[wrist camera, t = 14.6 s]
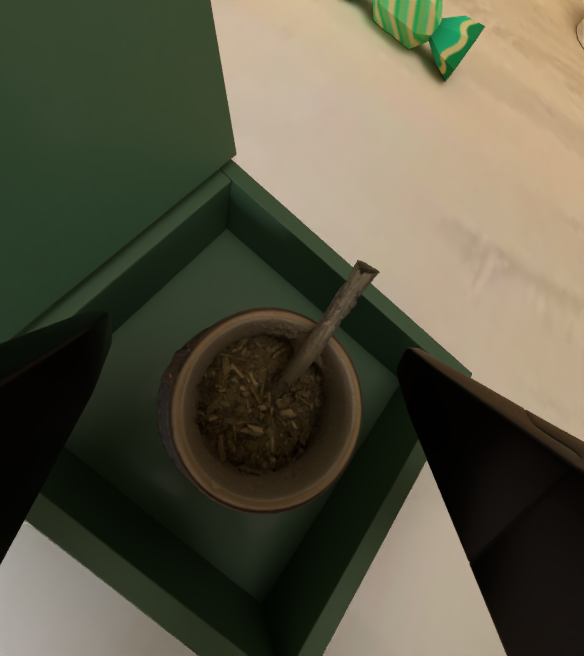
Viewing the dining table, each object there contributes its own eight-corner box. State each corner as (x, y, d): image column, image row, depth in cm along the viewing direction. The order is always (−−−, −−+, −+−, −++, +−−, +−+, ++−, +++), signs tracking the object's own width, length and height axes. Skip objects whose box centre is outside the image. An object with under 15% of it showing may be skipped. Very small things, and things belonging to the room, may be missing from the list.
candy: (468, 48, 27) (493, 15, 23) (440, 87, 28) (460, 62, 24) (356, -44, 26) (363, -95, 22) (331, 0, 27) (334, -42, 23)
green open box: (409, 380, 20) (473, 373, 15) (261, 620, 15) (285, 725, 10) (225, 218, 19) (230, 157, 14) (4, 417, 14) (-99, 425, 9)
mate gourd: (138, 450, 14) (1, 547, 5) (206, 305, 17) (203, 181, 7) (281, 498, 15) (396, 653, 6) (327, 356, 18) (464, 307, 8)
